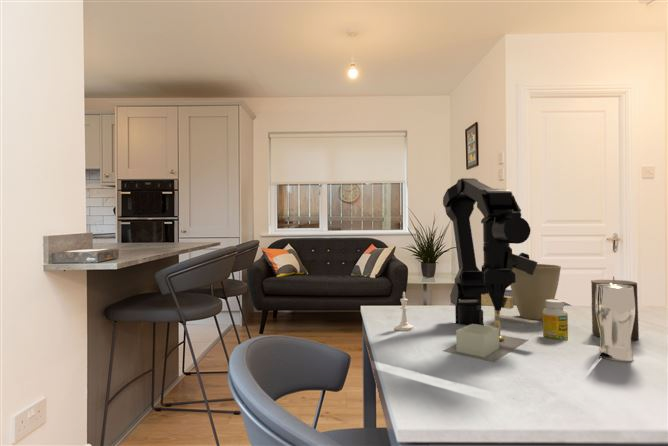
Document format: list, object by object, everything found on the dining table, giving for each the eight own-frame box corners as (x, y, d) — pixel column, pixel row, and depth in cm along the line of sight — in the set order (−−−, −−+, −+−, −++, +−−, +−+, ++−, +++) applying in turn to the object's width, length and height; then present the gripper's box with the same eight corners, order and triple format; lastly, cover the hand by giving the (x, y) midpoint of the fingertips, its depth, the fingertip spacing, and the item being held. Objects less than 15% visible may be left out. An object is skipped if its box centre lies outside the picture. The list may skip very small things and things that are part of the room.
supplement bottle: (550, 336, 103) (549, 298, 103) (572, 341, 98) (571, 301, 99) (538, 339, 100) (537, 300, 100) (560, 344, 95) (560, 303, 96)
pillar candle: (640, 343, 96) (639, 279, 96) (591, 337, 101) (590, 277, 101) (636, 334, 104) (635, 275, 104) (591, 329, 109) (590, 273, 110)
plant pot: (572, 322, 117) (571, 267, 118) (520, 322, 118) (519, 267, 118) (545, 312, 132) (545, 262, 133) (499, 312, 133) (499, 263, 133)
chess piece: (414, 327, 113) (414, 291, 114) (412, 331, 109) (411, 293, 109) (397, 326, 115) (396, 290, 115) (393, 330, 110) (393, 293, 110)
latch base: (442, 356, 87) (442, 350, 87) (482, 336, 103) (482, 332, 103) (493, 368, 80) (493, 361, 80) (528, 345, 95) (528, 339, 95)
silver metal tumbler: (588, 352, 89) (587, 283, 89) (618, 351, 90) (617, 283, 90) (612, 363, 82) (611, 288, 82) (644, 361, 83) (643, 287, 83)
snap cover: (456, 351, 87) (456, 330, 87) (472, 343, 93) (472, 323, 93) (484, 357, 83) (484, 335, 83) (499, 348, 88) (498, 327, 89)
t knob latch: (533, 348, 88) (533, 301, 88) (480, 336, 97) (479, 294, 98) (539, 345, 90) (539, 299, 90) (487, 334, 99) (486, 293, 100)
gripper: (541, 243, 85) (542, 319, 84) (528, 241, 102) (529, 303, 102) (484, 243, 88) (485, 316, 88) (480, 241, 106) (482, 301, 106)
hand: (497, 309), depth 96 cm, fingers closed on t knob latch, 3 cm apart
